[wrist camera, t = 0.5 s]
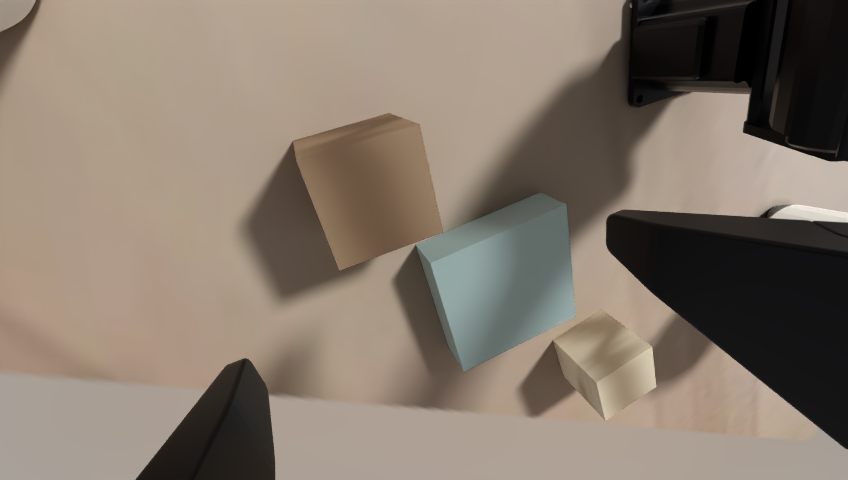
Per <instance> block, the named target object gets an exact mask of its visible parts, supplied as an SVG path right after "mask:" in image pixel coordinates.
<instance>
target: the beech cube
mask: <svg viewBox="0 0 848 480" xmlns="http://www.w3.org/2000/svg"><path fill="white" fill-rule="evenodd" d="M553 342H554V346H555V349H556V352H557V355H558V359H559V362H560V365H561V368H562V372H563V375H564V377H565V378H566V379H567V380H568V381H569V382H570V383H571V384H572V386H573V387H574V388H575V389H576V390H577V391H578V392H579V393H580V394H581V395H582V396H583V397H584V398H585V399H586V401H587V402H588V403H589V404H590V405H591V406H592V407H593V408H594V409H595V410H596V411H597V412H598V413H599V414H600V416H601V417H602V418H603V419H604V420H605V421H606V420H607V419H609V418H610V417H612V416H613V415H615V414H616V413H618V412H619V411H621V410H622V409H624V408H625V407H627V406H628V405H630V404H631V403H633V402H634V401H636V400H637V399H639V398H640V397H642V396H643V395H645V394H646V393H648V392H649V391H651V390H652V389H654V388H655V387H656V379H655V369H654V360H653V350H652V346H651V345H649V344H648V343H647V342H645V341H644V340H643V339H641V338H640V337H639V336H637V335H636V334H634V333H633V332H632V331H630V330H629V329H628V328H626V327H625V326H624V325H622V324H621V323H620V322H618V321H617V320H615V319H614V318H613V317H611V316H610V315H609V314H607V313H606V312H605V311H603V310H600V311H598V312H597V313H595V314H594V315H592V316H590V317H589V318H587V319H586V320H584V321H582V322H581V323H579V324H578V325H576V326H574V327H573V328H571V329H570V330H568V331H566V332H565V333H563V334H562V335H560V336H558V337H557V338H555V339H554V340H553Z"/></svg>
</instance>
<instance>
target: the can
mask: <svg viewBox="0 0 848 480" xmlns="http://www.w3.org/2000/svg"><path fill="white" fill-rule="evenodd" d="M35 1H36V0H0V32H1V31H3V30H6V29H8V28H10V27H12V26H14V25H15V24H17V23H18V22H20V21H21V20H23V19H24V18H25V17H26V16H27V15H28V13H29V12H30V11H31V9H32V7H33V6H34V4H35Z"/></svg>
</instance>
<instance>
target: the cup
mask: <svg viewBox="0 0 848 480" xmlns="http://www.w3.org/2000/svg"><path fill="white" fill-rule="evenodd" d="M767 218H777V219H794V220H809V221H811V222H812V221H830V222H848V213H845V212H839V211H833V210H827V209H821V208H815V207H809V206H803V205H781V206H775V207H773V208H772V209H771V210H770V211H769V212H768V214H767Z"/></svg>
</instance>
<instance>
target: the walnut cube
mask: <svg viewBox="0 0 848 480" xmlns="http://www.w3.org/2000/svg"><path fill="white" fill-rule="evenodd" d="M293 144H294V150H295V156H296V162H297V164H298V167H299V169H300V172H301V174H302V177H303V179H304V182H305V185H306V187H307V190H308V192H309V195H310V197H311V200H312V202H313V205H314V207H315V210H316V212H317V215H318V218H319V220H320V223H321V225H322V228H323V230H324V233H325V235H326V238H327V240H328V243H329V245H330V248H331V251H332V253H333V256H334V258H335V261H336V263H337V266H338V268H339V271H340V270H343V269H345V268H348V267H351V266H353V265H356V264H359V263H361V262H364V261H367V260H370V259H372V258H375V257H378V256H380V255H383V254H386V253H388V252H391V251H394V250H397V249H399V248H402V247H405V246H407V245H410V244H413V243H416V242H418V241H421V240H424V239H426V238H429V237H432V236H434V235H437V234H440V233H443V229H442V225H441V220H440V216H439V211H438V206H437V202H436V197H435V193H434V188H433V184H432V179H431V175H430V170H429V165H428V161H427V156H426V152H425V147H424V143H423V138H422V134H421V129H420V124H417V123H415V122H412V121H409V120H406V119H403V118H401V117H398V116H395V115H392V114H390V113H388V114H384V115H381V116H377V117H374V118H371V119H367V120H364V121H360V122H357V123H353V124H350V125H346V126H343V127H339V128H336V129H332V130H329V131H325V132H322V133H319V134H315V135H312V136H308V137H305V138H301V139H298V140H294V141H293Z"/></svg>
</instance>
